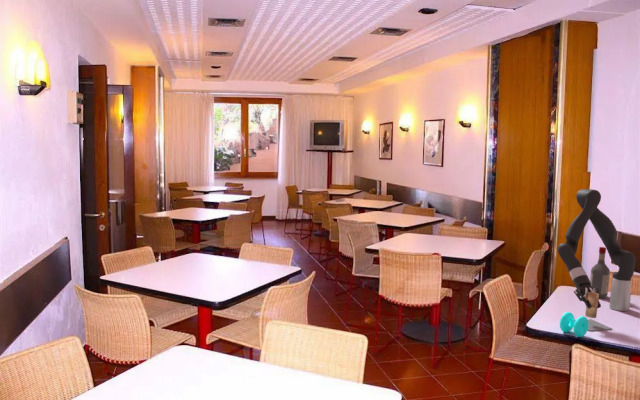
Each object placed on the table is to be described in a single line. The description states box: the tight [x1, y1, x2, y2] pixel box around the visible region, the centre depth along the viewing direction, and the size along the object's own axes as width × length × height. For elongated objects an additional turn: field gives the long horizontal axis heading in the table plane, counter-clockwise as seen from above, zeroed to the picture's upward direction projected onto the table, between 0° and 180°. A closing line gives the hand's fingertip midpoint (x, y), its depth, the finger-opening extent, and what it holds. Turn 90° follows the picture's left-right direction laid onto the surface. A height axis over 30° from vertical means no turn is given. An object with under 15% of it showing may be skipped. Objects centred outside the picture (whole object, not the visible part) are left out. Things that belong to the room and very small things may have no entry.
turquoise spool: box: [559, 311, 589, 338], centre depth 263 cm, size 10×10×10 cm
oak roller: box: [584, 292, 599, 319], centre depth 275 cm, size 5×5×12 cm
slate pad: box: [575, 318, 613, 332], centre depth 277 cm, size 14×14×1 cm
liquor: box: [589, 246, 611, 299], centre depth 329 cm, size 9×9×30 cm
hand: (594, 307), depth 274 cm, fingers closed on oak roller, 5 cm apart
